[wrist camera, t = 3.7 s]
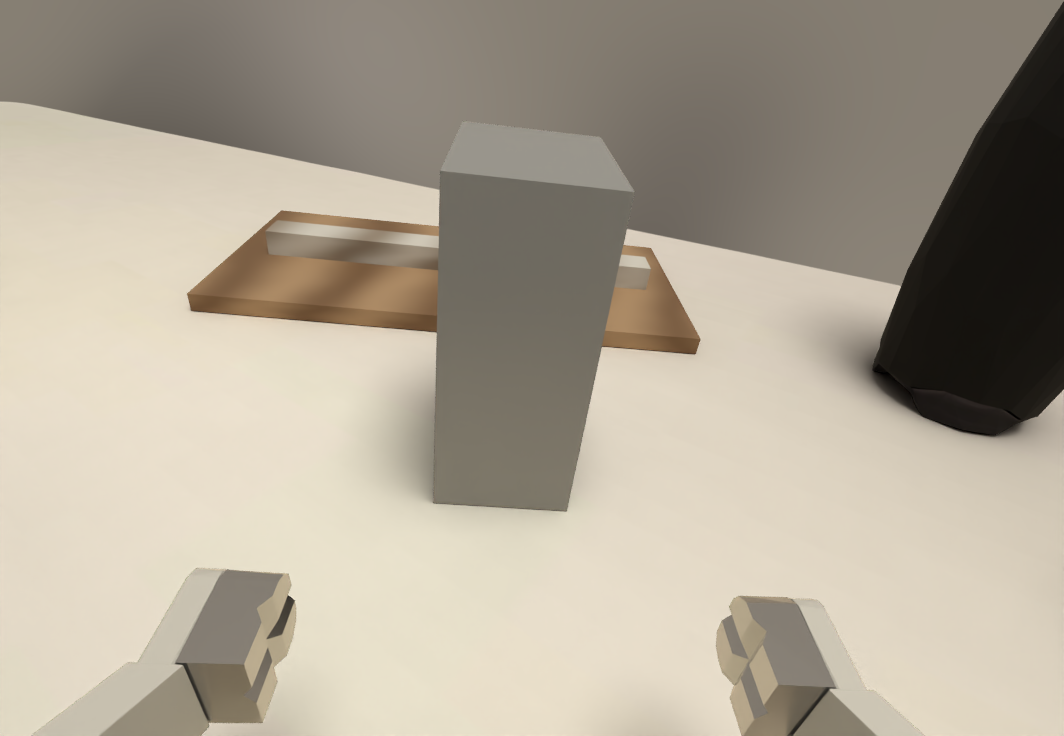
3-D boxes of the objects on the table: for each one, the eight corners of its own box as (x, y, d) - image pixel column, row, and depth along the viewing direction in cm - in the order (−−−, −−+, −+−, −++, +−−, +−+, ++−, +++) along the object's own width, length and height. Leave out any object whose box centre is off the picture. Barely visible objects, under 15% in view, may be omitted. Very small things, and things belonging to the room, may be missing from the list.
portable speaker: (1077, 435, 29) (1458, -8, 19) (943, 450, 27) (1293, -51, 16) (942, 349, 36) (1164, -12, 25) (824, 355, 34) (1016, -42, 23)
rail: (191, 310, 30) (180, 267, 28) (283, 223, 41) (278, 190, 40) (695, 354, 32) (708, 315, 31) (647, 260, 44) (655, 229, 42)
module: (431, 502, 20) (438, 170, 14) (450, 391, 26) (461, 120, 20) (567, 511, 21) (636, 192, 14) (556, 399, 27) (601, 137, 20)
